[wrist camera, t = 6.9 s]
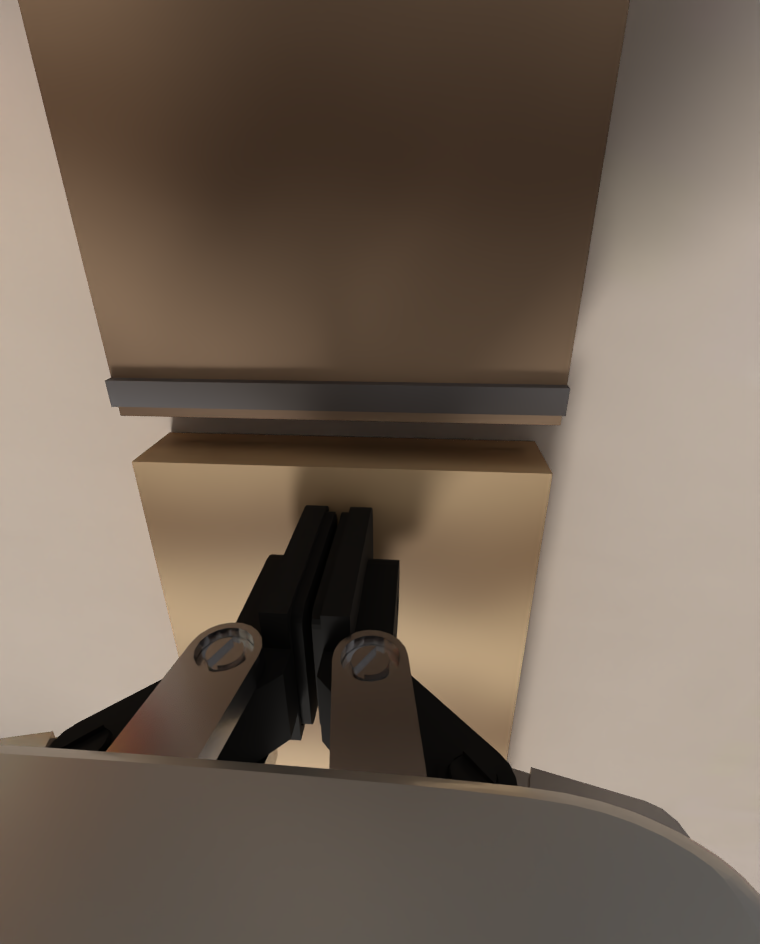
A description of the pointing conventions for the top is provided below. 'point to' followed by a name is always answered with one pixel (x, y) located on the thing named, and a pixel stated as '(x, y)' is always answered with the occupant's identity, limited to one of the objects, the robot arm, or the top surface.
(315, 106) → the walnut board
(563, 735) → the top surface
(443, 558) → the oak plank
